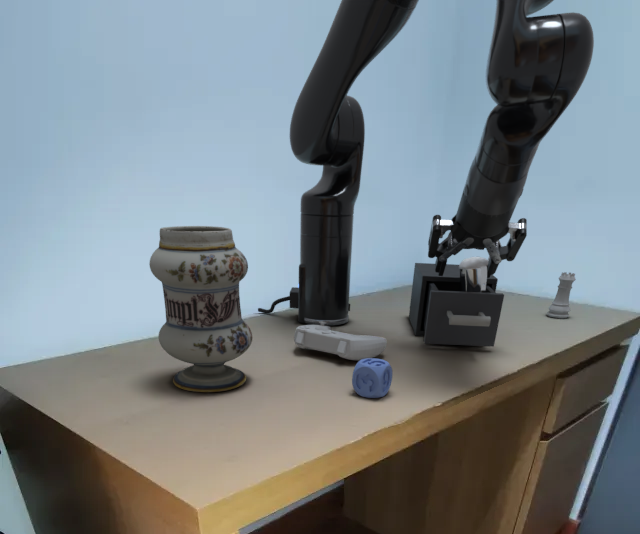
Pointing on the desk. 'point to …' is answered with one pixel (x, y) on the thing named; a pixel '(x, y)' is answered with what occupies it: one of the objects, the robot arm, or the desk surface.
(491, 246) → the robot arm
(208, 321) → the apothecary jar
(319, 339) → the game controller
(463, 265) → the milkshake
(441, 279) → the small filing cabinet
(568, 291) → the rook chess piece
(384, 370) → the decorative dice
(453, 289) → the drawer
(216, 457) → the desk surface
